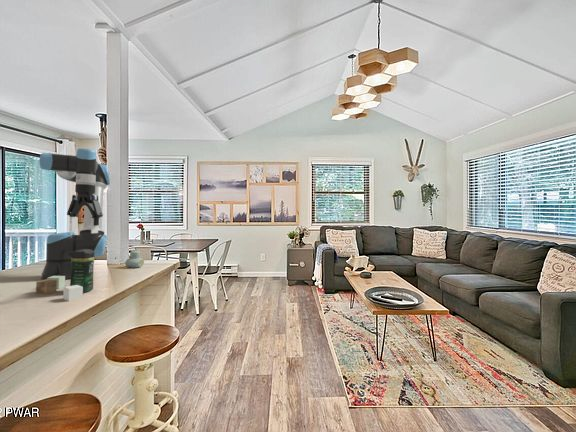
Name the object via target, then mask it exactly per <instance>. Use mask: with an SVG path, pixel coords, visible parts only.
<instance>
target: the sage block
mask: <svg viewBox="0 0 576 432" xmlns="http://www.w3.org/2000/svg"><path fill="white" fill-rule="evenodd" d="M47 279H49V280H57V287H56V290H60V289H61V288H64V287H66V286H65V285H66V279H65V276H51V277H48V278H47Z"/></svg>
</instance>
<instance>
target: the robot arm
mask: <svg viewBox="0 0 576 432" xmlns="http://www.w3.org/2000/svg"><path fill="white" fill-rule="evenodd" d="M39 168H40V169H41V170H45V171H53V172H55V173H56V174H57V176H58V177H60V179H63V180H65V181H68V182H72V183H76V184H75V185H74V186H75V190H74V191H75V193H76V194H73V195H71V201H70V204H69V206H68V209H67V212H66V215H67V216H69V217H70V221H69V222H70V225H69V226H70V228H69V230H70V231H67V232H58V233H53V234H52V233H51V234H49V235H47V238H46V252H45V253H46V258H45V259H46V260H45V266H44V268H43V270H42V273H41V280H46V279H47V278H48V277H51V276H65V280H71V268H72V262H71V256H72V253H73V252H74V251H77V250H82V249H92V250H93V251H94V252H95V253H94V254H95V256H94V257H95V258H96V257H102V256H103V255H104V254H105V251H106V246H107V240H108V235H107V234H105V231H104V230H103V229H102V226H103V225H102V223H103V216H104V214H103V206H104V190H106V189H107V186H109V185H110V184H111V183H110V173H109V172H110V171H109V167H108V165H106V164H103V163H102V164H101V163H98V161H97V151H96V150H94V149H91V148H90V149H89V148H77V150H76V155H71V154H69V155H68V154H59V153H51V152H41V154H40V156H39ZM83 207H84V210H83V211H84V213H83V226H82V227H83V228H82V229H81V230H80V231H79V234H75V232H78V226H79V225H78V224H79V223H78V221H79V217H78V216H79V215H78V214H79V213H80V211H81V209H83Z"/></svg>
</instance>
